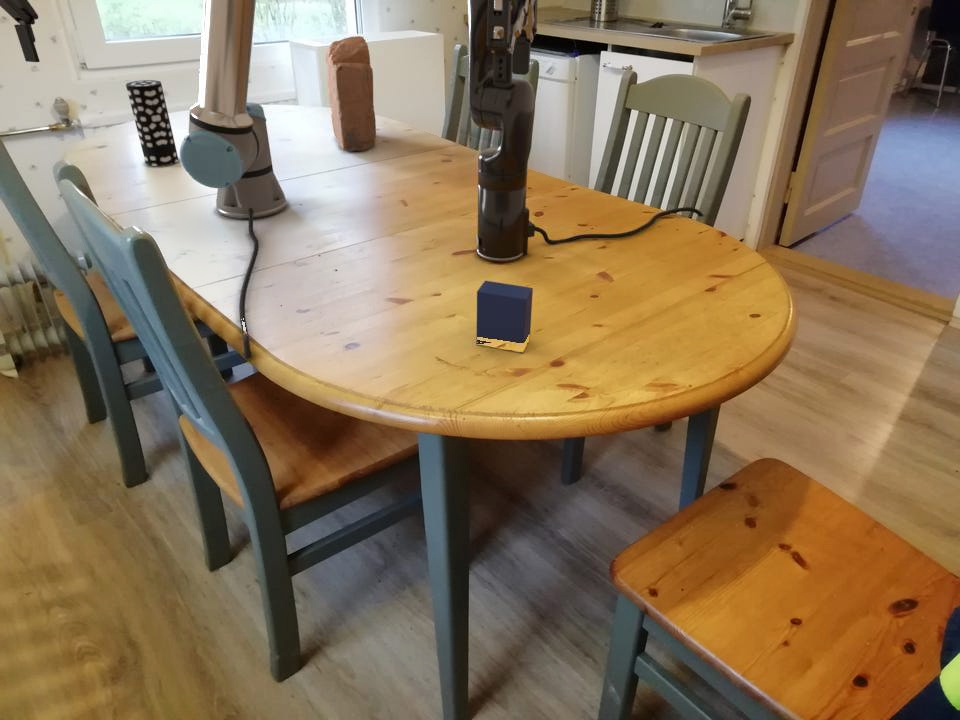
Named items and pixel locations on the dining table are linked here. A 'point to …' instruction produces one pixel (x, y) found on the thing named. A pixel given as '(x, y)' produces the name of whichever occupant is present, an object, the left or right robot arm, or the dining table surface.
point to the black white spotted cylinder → (152, 122)
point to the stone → (351, 93)
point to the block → (503, 312)
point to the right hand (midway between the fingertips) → (511, 80)
